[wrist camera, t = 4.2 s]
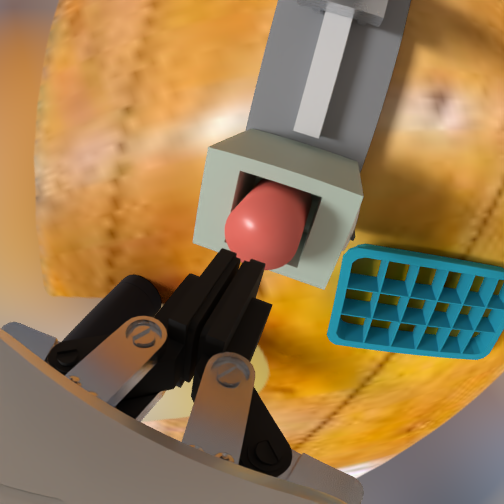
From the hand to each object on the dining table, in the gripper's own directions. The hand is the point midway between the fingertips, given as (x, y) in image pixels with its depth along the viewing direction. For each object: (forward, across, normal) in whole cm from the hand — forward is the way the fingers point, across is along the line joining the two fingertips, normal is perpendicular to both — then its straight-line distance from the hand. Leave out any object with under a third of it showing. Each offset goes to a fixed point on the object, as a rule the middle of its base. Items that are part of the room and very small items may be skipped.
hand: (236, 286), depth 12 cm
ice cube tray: (+18, -16, +8) cm, 26 cm away
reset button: (+11, 0, +1) cm, 11 cm away
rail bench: (+18, 0, -9) cm, 20 cm away
